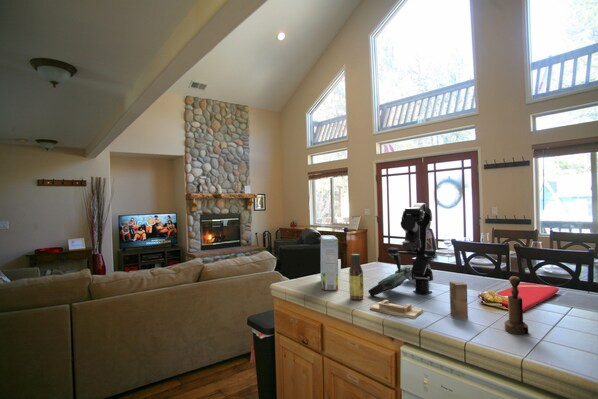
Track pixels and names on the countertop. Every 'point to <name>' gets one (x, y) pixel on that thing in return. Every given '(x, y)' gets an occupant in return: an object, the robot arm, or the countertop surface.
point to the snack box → (329, 262)
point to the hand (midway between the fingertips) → (411, 274)
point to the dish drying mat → (530, 294)
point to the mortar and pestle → (515, 310)
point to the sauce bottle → (356, 278)
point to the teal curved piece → (391, 281)
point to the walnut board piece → (458, 299)
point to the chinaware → (411, 273)
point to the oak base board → (397, 309)
